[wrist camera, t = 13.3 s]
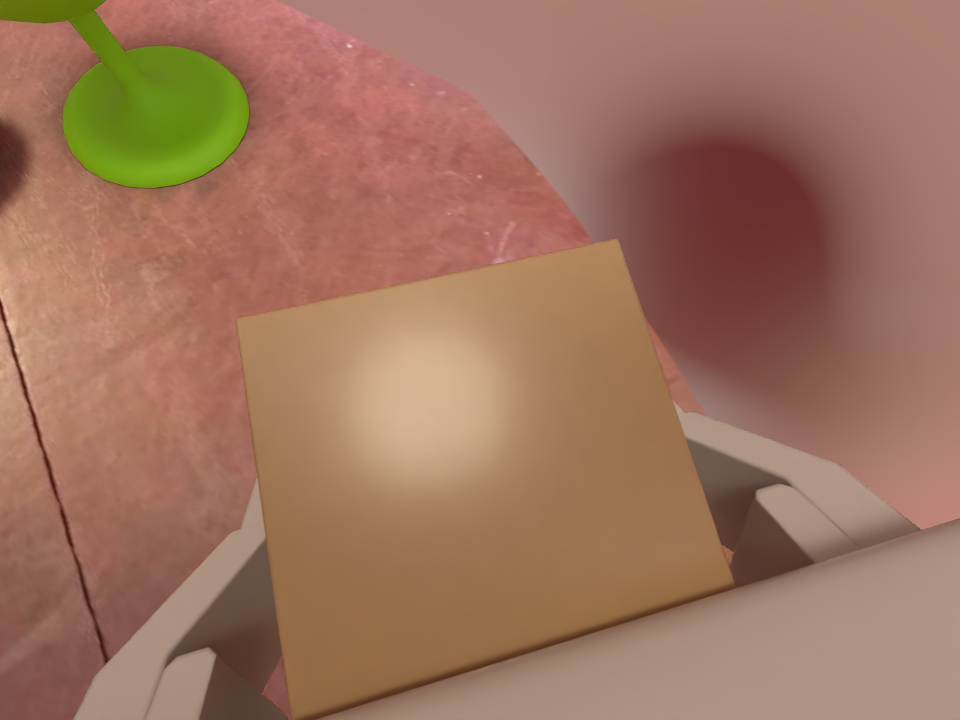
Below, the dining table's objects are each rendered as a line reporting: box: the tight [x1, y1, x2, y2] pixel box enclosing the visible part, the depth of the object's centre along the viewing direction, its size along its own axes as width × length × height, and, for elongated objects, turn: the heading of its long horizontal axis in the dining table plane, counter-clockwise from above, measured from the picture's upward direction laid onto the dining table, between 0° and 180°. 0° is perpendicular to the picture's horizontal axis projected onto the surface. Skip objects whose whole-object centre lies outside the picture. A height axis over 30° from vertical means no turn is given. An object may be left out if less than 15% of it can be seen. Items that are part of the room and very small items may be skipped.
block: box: [236, 239, 736, 720], centre depth 9 cm, size 4×4×9 cm
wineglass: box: [0, 0, 250, 188], centre depth 30 cm, size 16×16×18 cm
